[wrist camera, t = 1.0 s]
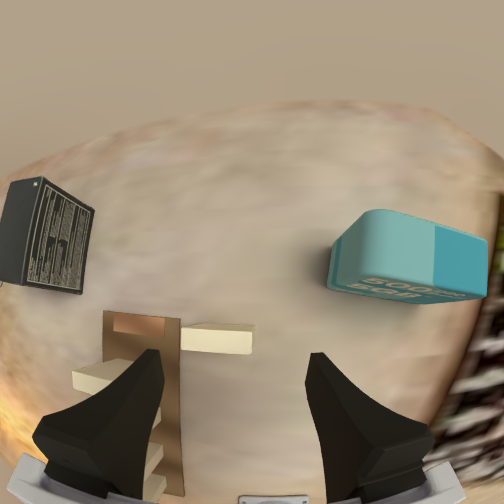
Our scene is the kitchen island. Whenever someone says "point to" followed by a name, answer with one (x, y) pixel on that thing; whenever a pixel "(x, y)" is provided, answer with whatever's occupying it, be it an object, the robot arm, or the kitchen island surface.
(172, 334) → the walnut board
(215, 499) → the kitchen island surface
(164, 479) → the domino
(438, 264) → the data package
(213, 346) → the domino
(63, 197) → the small box
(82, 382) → the domino
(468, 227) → the kitchen island surface
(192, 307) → the kitchen island surface
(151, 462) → the domino
